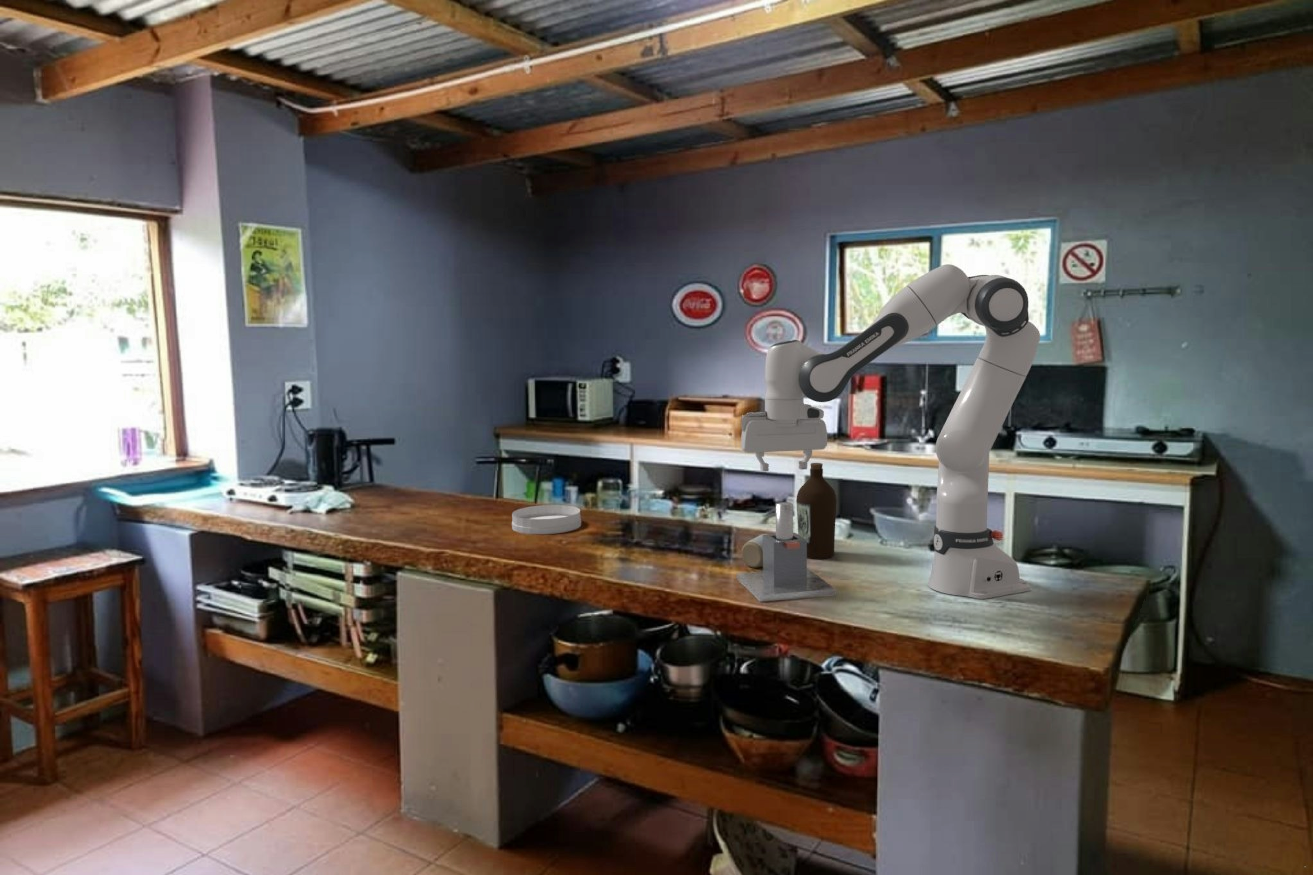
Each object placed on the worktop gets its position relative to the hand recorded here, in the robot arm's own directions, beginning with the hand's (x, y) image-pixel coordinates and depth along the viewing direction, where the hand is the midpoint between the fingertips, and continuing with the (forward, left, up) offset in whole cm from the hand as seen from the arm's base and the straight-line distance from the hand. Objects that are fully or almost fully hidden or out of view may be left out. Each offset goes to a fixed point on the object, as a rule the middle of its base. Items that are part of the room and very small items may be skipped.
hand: (783, 470), depth 192 cm
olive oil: (-18, -25, -28) cm, 42 cm away
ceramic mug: (-1, -18, -28) cm, 34 cm away
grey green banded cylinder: (0, 0, -26) cm, 26 cm away
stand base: (0, 0, -28) cm, 28 cm away
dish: (+51, -81, -29) cm, 100 cm away
